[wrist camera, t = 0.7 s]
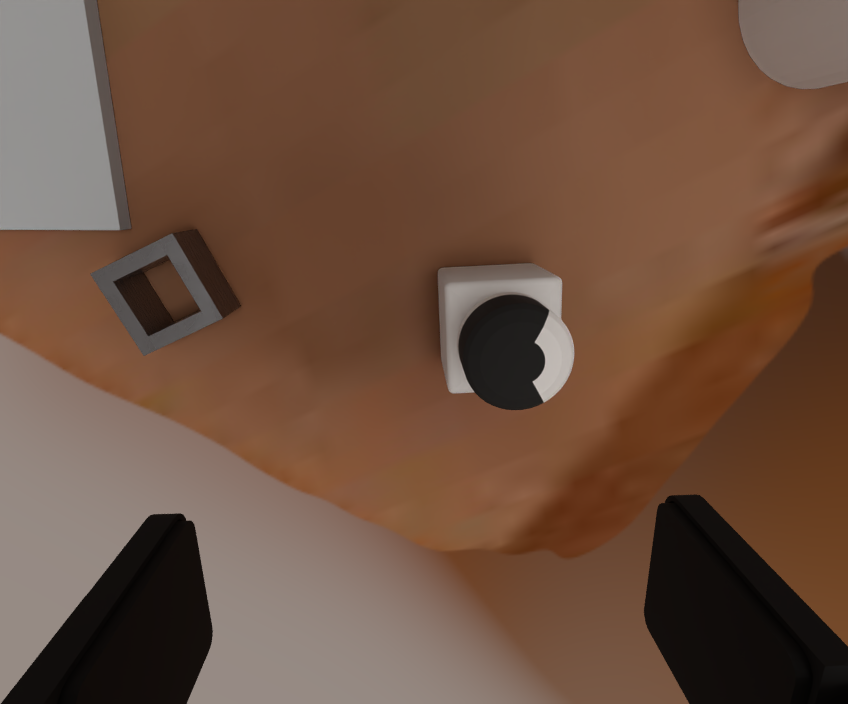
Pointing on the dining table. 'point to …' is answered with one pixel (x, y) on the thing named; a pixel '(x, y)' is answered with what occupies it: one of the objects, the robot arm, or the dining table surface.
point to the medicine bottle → (503, 333)
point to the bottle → (797, 40)
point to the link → (143, 305)
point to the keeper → (57, 120)
